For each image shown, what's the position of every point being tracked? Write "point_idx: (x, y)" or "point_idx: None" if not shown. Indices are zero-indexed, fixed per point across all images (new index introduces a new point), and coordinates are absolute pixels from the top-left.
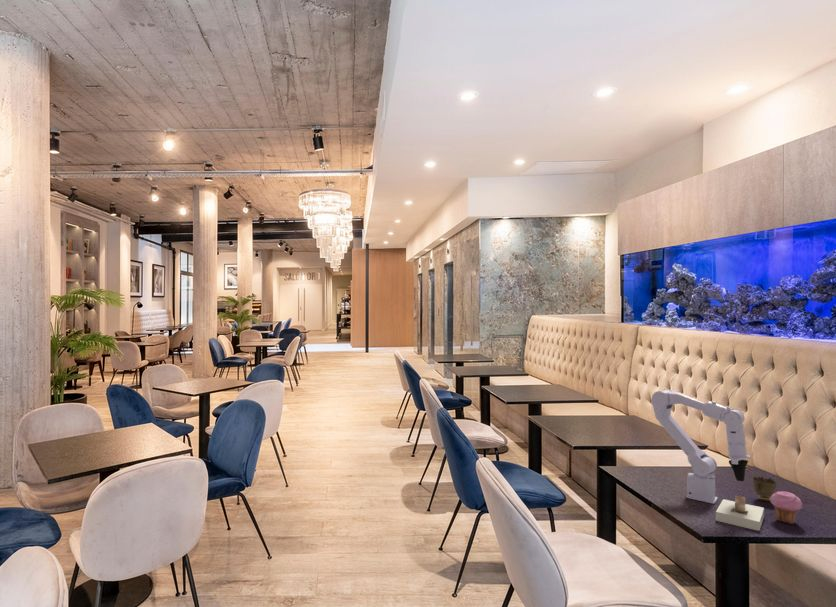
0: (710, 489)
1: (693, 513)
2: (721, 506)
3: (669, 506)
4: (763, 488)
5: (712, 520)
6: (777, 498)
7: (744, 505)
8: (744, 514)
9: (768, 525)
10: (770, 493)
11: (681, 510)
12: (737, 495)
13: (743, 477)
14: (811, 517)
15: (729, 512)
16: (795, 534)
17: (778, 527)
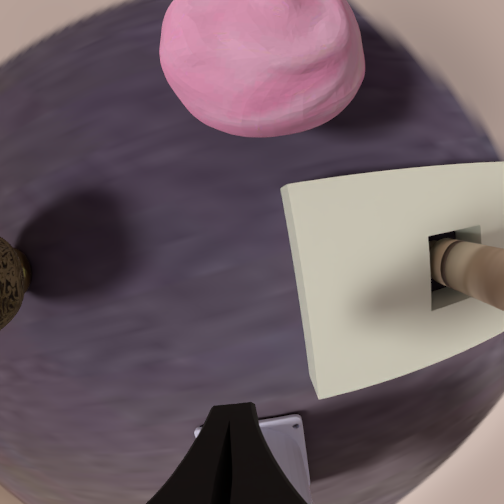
0: (291, 473)
1: (461, 393)
2: (443, 351)
3: (436, 455)
4: (2, 278)
5: None
6: (356, 63)
7: (490, 246)
8: (460, 240)
9: (397, 143)
10: (2, 242)
11: (453, 423)
12: (499, 305)
13: (258, 427)
14: (96, 51)
15: None
16: (400, 49)
17: (384, 105)
